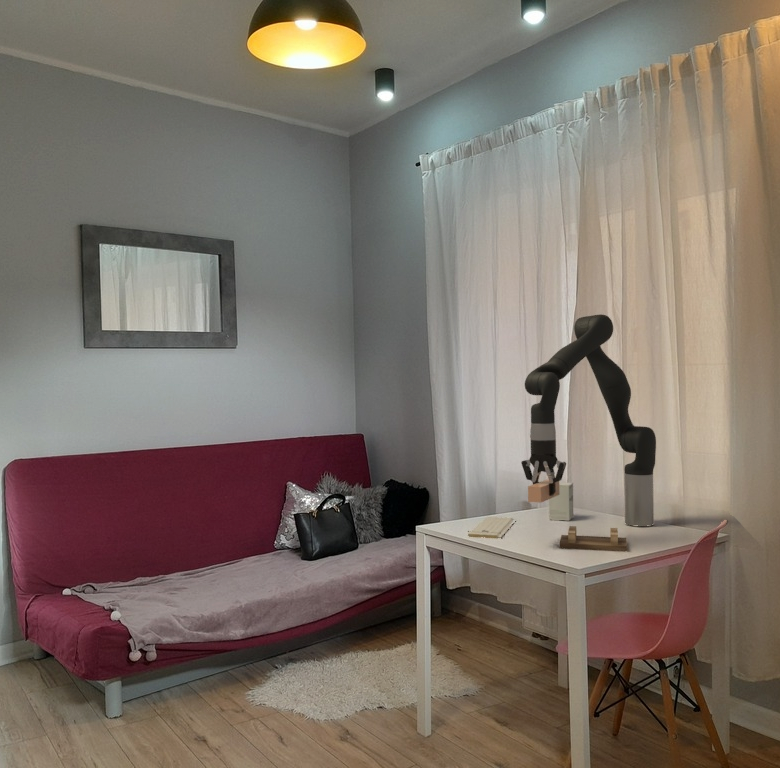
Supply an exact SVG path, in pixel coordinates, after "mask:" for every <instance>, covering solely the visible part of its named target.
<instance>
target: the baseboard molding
mask: <svg viewBox="0 0 780 768" xmlns="http://www.w3.org/2000/svg"><path fill="white" fill-rule="evenodd" d="M513 520H514V518H513V517H500V516H499V517H497V516H486V517H485V518H484V519H483V520H482V521H481V522H479V523H478V524H477V525H476V526H475V527H474V528H472V530H471V531H470V530H468V531H467V532H468V533H467V536H469V537H468V538H481V537H483V539H484V537H485V539H498V538H501V539H502V540H503V538H504V536H505V535H506V534H507V532H508V531H509V530H510V529H511V528H512V527H513V525H512V524H511V523H512V522H513ZM510 524H511V525H510ZM511 526H512V527H511ZM510 527H511V528H510ZM509 528H510V529H509ZM508 529H509V530H508ZM507 530H508V531H507ZM505 533H506V534H505ZM504 534H505V535H504ZM503 535H504V536H503Z"/></svg>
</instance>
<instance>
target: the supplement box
mask: <svg viewBox="0 0 780 768" xmlns="http://www.w3.org/2000/svg"><path fill="white" fill-rule="evenodd" d="M559 494H560V495H557V496H555V497H553V498H551V499H548V519H553V520H552V521H559V520H570V519H571V518H572V519H574V483H573V482H563V481H562V482H561V481H559ZM572 519H571V520H572ZM571 520H570V521H571Z"/></svg>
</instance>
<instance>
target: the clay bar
mask: <svg viewBox="0 0 780 768" xmlns="http://www.w3.org/2000/svg"><path fill="white" fill-rule="evenodd" d="M538 482H539V483H536V484H533V483H532V484H531V485H529V486H527V502H528V503H538V504H539V503H540V504H541V503H544V502H545V501H549V499H551V498H553V497H555V496H557V495H560V494H559V482H560V481H558V482H556V483H555V486H556V488H555V489H556V492H555V493H554V495H553V496H549V483H550V482H549V479H548V478H547V479H544V480H541V481H538Z"/></svg>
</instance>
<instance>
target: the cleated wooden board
mask: <svg viewBox="0 0 780 768" xmlns="http://www.w3.org/2000/svg"><path fill="white" fill-rule="evenodd" d="M627 542H628V541H627V537H619V531H618V527H610V536H597V535H596V536H595V535H594V536H592V535H577V526H574V525H572V526H571V525H570V526H569V527H568V532H567V534H561V536H560V540H559V544H558V548H559V549H564V548H565V549H568V550H569V549H570V550H585V551H586V550H587V551H605V552H606V551H610V552H625V551H627V552H628V543H627Z"/></svg>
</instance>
